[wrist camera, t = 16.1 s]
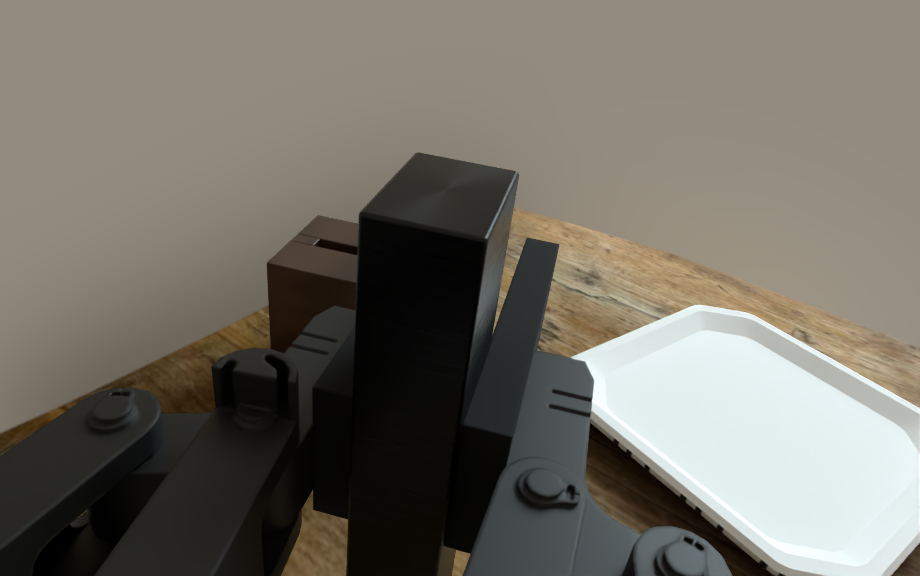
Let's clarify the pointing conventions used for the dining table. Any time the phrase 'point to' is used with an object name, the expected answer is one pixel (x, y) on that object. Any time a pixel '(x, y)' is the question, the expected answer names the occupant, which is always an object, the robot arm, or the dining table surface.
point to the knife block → (311, 277)
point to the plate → (766, 440)
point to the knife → (420, 354)
